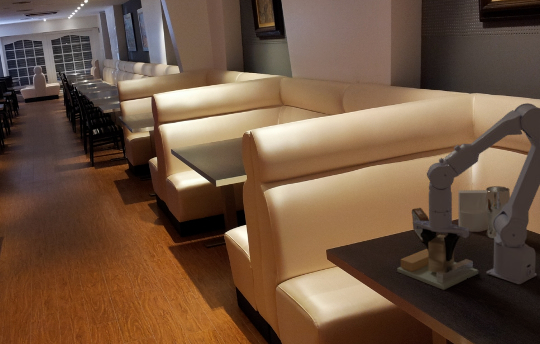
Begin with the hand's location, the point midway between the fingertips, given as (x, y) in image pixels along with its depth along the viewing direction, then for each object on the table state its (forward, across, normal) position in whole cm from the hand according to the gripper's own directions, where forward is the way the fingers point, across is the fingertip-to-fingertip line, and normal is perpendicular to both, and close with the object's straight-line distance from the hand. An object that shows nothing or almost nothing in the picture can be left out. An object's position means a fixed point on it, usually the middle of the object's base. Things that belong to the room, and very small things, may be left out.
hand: (440, 258), depth 146 cm
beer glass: (+5, -3, -34) cm, 35 cm away
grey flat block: (+4, +1, 0) cm, 5 cm away
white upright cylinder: (+5, +6, -39) cm, 40 cm away
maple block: (+3, 0, 0) cm, 3 cm away
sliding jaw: (+3, +6, -2) cm, 7 cm away
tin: (+5, +17, -23) cm, 29 cm away
